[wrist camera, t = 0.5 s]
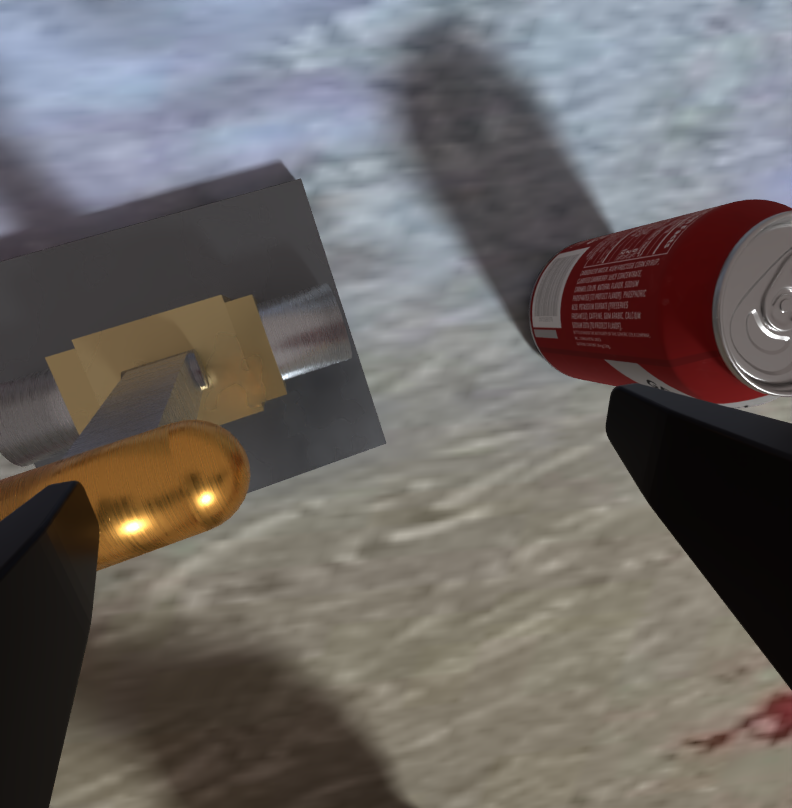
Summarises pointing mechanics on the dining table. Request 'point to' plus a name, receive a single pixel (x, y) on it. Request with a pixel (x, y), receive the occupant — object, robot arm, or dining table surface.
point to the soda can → (676, 305)
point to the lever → (148, 463)
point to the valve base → (187, 277)
